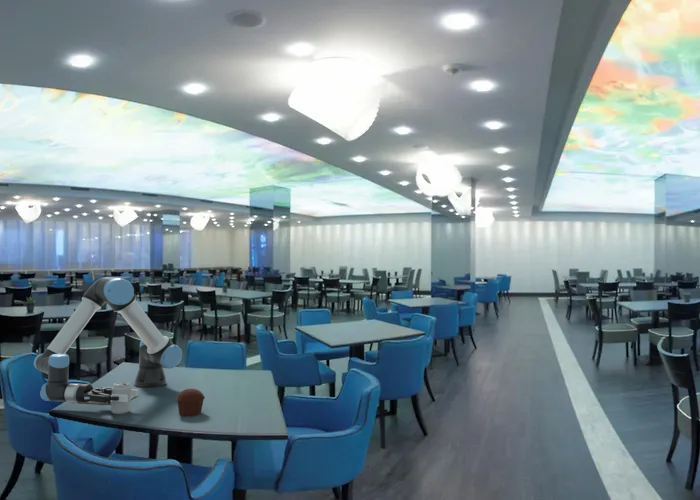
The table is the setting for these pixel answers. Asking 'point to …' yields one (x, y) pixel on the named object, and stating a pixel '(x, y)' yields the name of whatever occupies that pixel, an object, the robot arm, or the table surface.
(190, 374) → the table surface
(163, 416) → the table surface
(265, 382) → the table surface
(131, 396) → the pin base
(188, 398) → the muffin
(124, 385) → the can
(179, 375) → the table surface
